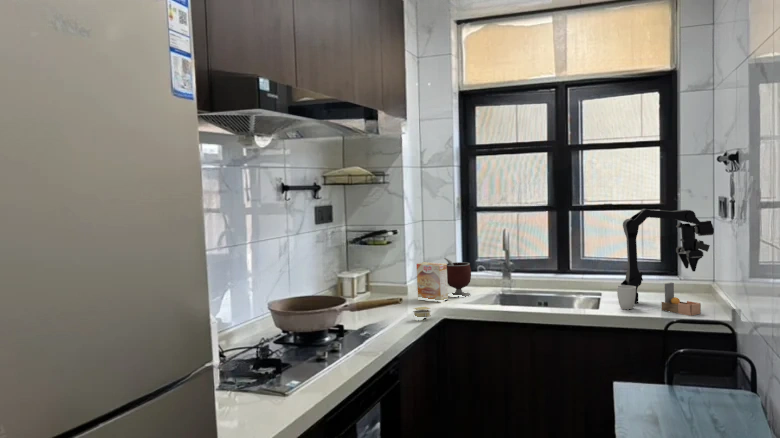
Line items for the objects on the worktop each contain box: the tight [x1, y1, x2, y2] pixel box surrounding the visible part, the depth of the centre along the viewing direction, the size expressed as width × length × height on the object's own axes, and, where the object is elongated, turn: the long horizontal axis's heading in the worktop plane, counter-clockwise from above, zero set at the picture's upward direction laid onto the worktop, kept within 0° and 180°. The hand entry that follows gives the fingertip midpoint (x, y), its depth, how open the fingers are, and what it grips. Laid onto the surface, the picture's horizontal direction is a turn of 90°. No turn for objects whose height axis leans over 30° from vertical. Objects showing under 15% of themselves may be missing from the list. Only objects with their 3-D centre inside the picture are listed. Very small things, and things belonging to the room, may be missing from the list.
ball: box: [671, 296, 681, 304], centre depth 254 cm, size 4×4×4 cm
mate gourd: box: [443, 257, 472, 297], centre depth 312 cm, size 16×14×20 cm
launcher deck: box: [661, 301, 687, 314], centre depth 255 cm, size 8×6×4 cm
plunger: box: [664, 282, 675, 303], centre depth 256 cm, size 1×5×9 cm, turn 119°
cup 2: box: [677, 300, 702, 317], centre depth 249 cm, size 6×6×4 cm
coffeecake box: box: [416, 261, 449, 300], centre depth 302 cm, size 15×7×20 cm, turn 49°
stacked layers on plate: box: [412, 306, 431, 318], centre depth 261 cm, size 10×9×6 cm
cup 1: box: [616, 284, 636, 311], centre depth 263 cm, size 8×8×10 cm
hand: (690, 269), depth 270 cm, fingers open, 9 cm apart
